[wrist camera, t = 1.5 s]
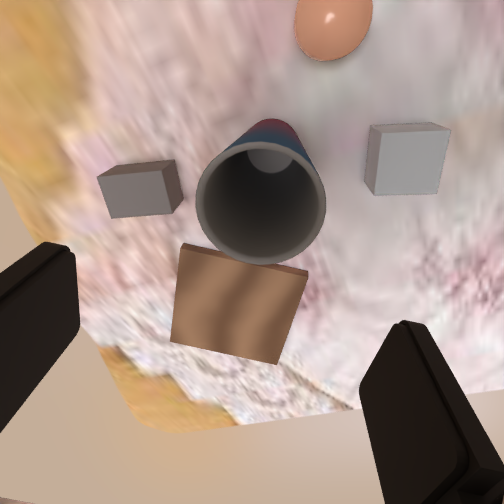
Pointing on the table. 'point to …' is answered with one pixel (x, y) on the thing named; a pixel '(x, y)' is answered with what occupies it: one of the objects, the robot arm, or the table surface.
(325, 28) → the terracotta ball
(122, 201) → the taupe block
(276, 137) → the cup
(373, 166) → the slate block
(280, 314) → the walnut board
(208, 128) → the table surface
